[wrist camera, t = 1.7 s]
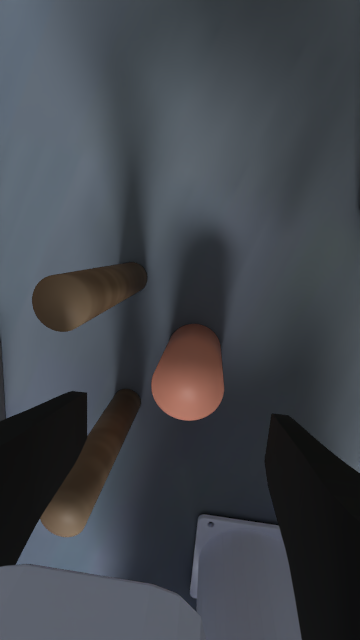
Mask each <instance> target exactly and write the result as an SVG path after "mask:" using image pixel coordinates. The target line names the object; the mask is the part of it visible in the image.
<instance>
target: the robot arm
mask: <svg viewBox="0 0 360 640" xmlns="http://www.w3.org/2000/svg"><path fill="white" fill-rule="evenodd" d="M86 440H87V393H84V392H75V391H71V392H68V393H65V394H63V395H60V396H58V397H56V398H53V399H51V400H49V401H47V402H45V403H42V404H40V405H38V406H36V407H33V408H31V409H29V410H27V411H24V412H22V413H19V414H17V415H14V416H12V417H9V418H7V419H4V420H2V421H0V640H360V473H358V472H357V471H356V470H354V469H353V468H351V467H350V466H349V465H347V464H346V463H345V462H343V461H342V460H341V459H339V458H338V457H337V456H336V455H334V454H333V453H332V452H331V451H329V450H328V449H327V448H326V447H324V446H323V445H322V444H321V443H320V442H319V441H317V440H316V439H315V438H314V437H313V436H312V435H311V434H309V433H308V432H307V431H306V430H305V429H304V428H303V427H302V426H300V425H299V424H298V423H297V422H296V421H295V420H294V419H292V418H291V417H290V416H288V415H280V414H272V415H271V422H270V428H269V435H268V441H267V448H266V454H265V468H266V475H267V482H268V488H269V491H270V495H271V499H272V503H273V506H274V510H275V514H276V517H277V521H278V524H279V525H272V524H265V523H259V522H252V521H245V520H239V519H232V518H226V517H219V516H212V515H206V514H202V515H200V516H199V517H198V523H197V532H196V541H195V550H194V559H193V568H192V577H191V586H190V595H191V596H192V597H193V598H196V599H197V609H196V611H195V610H194V609H193V608H192V607H191V606H190V605H189V604H188V603H187V602H186V601H185V600H184V599H183V598H182V597H181V596H180V595H179V594H178V593H175V592H172V591H170V590H167V589H164V588H162V587H159V586H156V585H154V584H150V583H144V582H137V581H131V580H125V579H119V578H113V577H107V576H100V575H94V574H88V573H82V572H76V571H70V570H64V569H57V568H51V567H45V566H39V565H33V564H23V565H16V563H17V561H18V559H19V557H20V555H21V553H22V551H23V549H24V547H25V545H26V543H27V541H28V539H29V537H30V535H31V533H32V532H33V530H34V528H35V526H36V524H37V522H38V521H39V519H40V517H41V516H42V514H43V512H44V511H45V509H46V508H47V506H48V505H49V503H50V502H51V500H52V499H53V497H54V495H55V494H56V492H57V491H58V489H59V488H60V486H61V485H62V483H63V482H64V480H65V479H66V477H67V475H68V474H69V472H70V471H71V469H72V468H73V466H74V464H75V463H76V461H77V459H78V457H79V455H80V453H81V451H82V449H83V446H84V444H85V442H86ZM209 522H213V523H209Z"/></svg>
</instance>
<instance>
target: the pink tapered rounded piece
mask: <svg viewBox="0 0 360 640" xmlns="http://www.w3.org/2000/svg"><path fill="white" fill-rule="evenodd" d="M151 388H152V394H153V397H154V399H155V401H156V403H157V404H158V406H159V407H160V408H161V409H162V410H163V411H164V412H165V413H167V414H168V415H170V416H172V417H174V418H177V419H180V420H187V421H191V420H198V419H202V418H204V417H206V416H208V415H210V414H211V413H212V412H214V411H215V410H216V408H217V407H218V406H219V404H220V402H221V401H222V398H223V394H224V381H223V369H222V357H221V345H220V342H219V339H218V337H217V336H216V334H215V333H214V332H213V331H212V330H211V329H209V328H208V327H206V326H203V325H200V324H188V325H184V326H182V327H180V328H179V329H177V330H176V331H175V332H174V333H173V335H172V336H171V338H170V340H169V342H168V344H167V346H166V349H165V351H164V353H163V355H162V357H161V359H160V361H159V363H158V366H157V368H156V370H155V372H154V374H153V377H152V383H151Z"/></svg>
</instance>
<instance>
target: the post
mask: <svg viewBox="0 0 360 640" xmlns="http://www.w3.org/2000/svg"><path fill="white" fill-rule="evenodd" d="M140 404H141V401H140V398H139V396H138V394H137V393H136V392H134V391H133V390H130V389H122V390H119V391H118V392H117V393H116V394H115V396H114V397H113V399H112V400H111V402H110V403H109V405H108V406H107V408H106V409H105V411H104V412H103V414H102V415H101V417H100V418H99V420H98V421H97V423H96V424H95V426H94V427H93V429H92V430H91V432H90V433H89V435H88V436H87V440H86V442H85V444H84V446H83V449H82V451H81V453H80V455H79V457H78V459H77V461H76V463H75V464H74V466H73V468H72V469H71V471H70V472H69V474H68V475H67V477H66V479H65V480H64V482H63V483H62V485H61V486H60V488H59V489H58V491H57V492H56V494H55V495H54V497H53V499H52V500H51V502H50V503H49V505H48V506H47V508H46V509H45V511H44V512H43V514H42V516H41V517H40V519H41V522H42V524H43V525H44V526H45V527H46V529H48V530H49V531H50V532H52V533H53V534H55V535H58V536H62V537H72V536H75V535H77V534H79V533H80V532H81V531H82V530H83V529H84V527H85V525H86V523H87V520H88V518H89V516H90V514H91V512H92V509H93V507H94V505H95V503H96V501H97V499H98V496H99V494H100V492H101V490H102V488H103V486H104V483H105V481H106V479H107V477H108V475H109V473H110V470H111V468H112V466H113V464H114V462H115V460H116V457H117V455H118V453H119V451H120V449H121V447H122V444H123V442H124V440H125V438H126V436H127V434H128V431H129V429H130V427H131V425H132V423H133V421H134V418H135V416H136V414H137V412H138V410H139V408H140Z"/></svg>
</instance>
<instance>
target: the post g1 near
mask: <svg viewBox="0 0 360 640" xmlns="http://www.w3.org/2000/svg"><path fill="white" fill-rule="evenodd" d="M146 283H147V273H146V271H145V269H144V268H143V267H142V266H141V265H140V264H138V263H135V262H129V263H123V264H117V265H111V266H105V267H99V268H93V269H87V270H81V271H74V272H68V273H62V274H56V275H51V276H48V277H45V278H44V279H42V280H41V281H40V282H39V283H38V284H37V286H36V287H35V289H34V292H33V296H32V304H33V309H34V312H35V314H36V316H37V317H38V319H39V320H40V321H41V322H42V323H43V324H44V325H45V326H46V327H48V328H50V329H52V330H55V331H60V332H66V331H71V330H73V329H75V328H77V327H79V326H80V325H82V324H84V323H86V322H87V321H89V320H91V319H92V318H94V317H96V316H98V315H99V314H101V313H103V312H104V311H106V310H108V309H110V308H111V307H113V306H115V305H116V304H118V303H120V302H122V301H123V300H125V299H127V298H129V297H130V296H132V295H134V294H135V293H137V292H139V291H141V290H142V289H143V288H144V287H145V285H146Z"/></svg>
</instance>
